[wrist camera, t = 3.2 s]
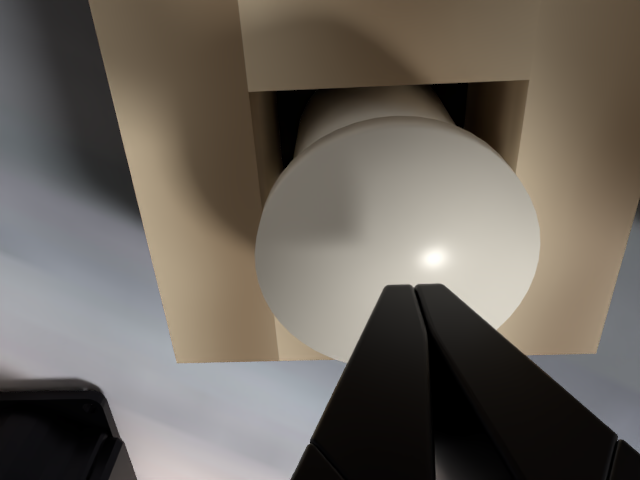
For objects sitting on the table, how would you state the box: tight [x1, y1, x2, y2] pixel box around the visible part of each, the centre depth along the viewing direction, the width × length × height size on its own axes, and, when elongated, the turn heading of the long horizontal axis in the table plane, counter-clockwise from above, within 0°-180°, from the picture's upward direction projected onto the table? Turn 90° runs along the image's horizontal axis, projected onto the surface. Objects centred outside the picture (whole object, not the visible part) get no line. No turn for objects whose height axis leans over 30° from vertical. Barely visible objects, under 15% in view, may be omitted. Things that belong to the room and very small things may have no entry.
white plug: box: [255, 84, 540, 363], centre depth 12 cm, size 5×5×6 cm
